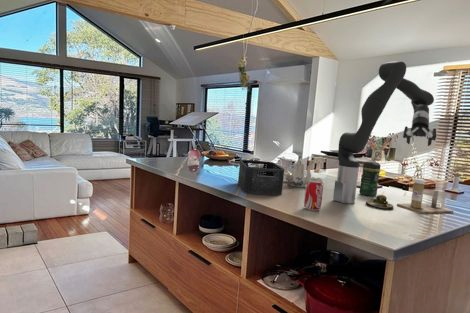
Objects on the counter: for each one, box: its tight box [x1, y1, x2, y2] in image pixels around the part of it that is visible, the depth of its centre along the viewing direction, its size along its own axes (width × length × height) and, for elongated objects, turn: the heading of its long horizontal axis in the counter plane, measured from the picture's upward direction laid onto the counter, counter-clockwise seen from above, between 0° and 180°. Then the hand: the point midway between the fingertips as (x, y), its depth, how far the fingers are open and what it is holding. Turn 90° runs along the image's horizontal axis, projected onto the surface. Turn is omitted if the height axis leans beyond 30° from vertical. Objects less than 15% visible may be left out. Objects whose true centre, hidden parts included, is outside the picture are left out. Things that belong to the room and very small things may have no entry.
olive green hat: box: [365, 191, 394, 211], centre depth 152 cm, size 12×12×8 cm
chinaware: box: [284, 158, 325, 188], centre depth 193 cm, size 28×17×17 cm, turn 56°
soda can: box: [303, 180, 324, 212], centre depth 136 cm, size 7×7×12 cm
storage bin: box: [237, 159, 286, 196], centre depth 171 cm, size 29×19×13 cm
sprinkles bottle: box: [410, 178, 426, 208], centre depth 153 cm, size 5×5×13 cm
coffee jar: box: [358, 161, 381, 197], centre depth 180 cm, size 10×8×19 cm
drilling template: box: [396, 190, 454, 215], centre depth 155 cm, size 20×14×9 cm
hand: (418, 143), depth 159 cm, fingers open, 8 cm apart
